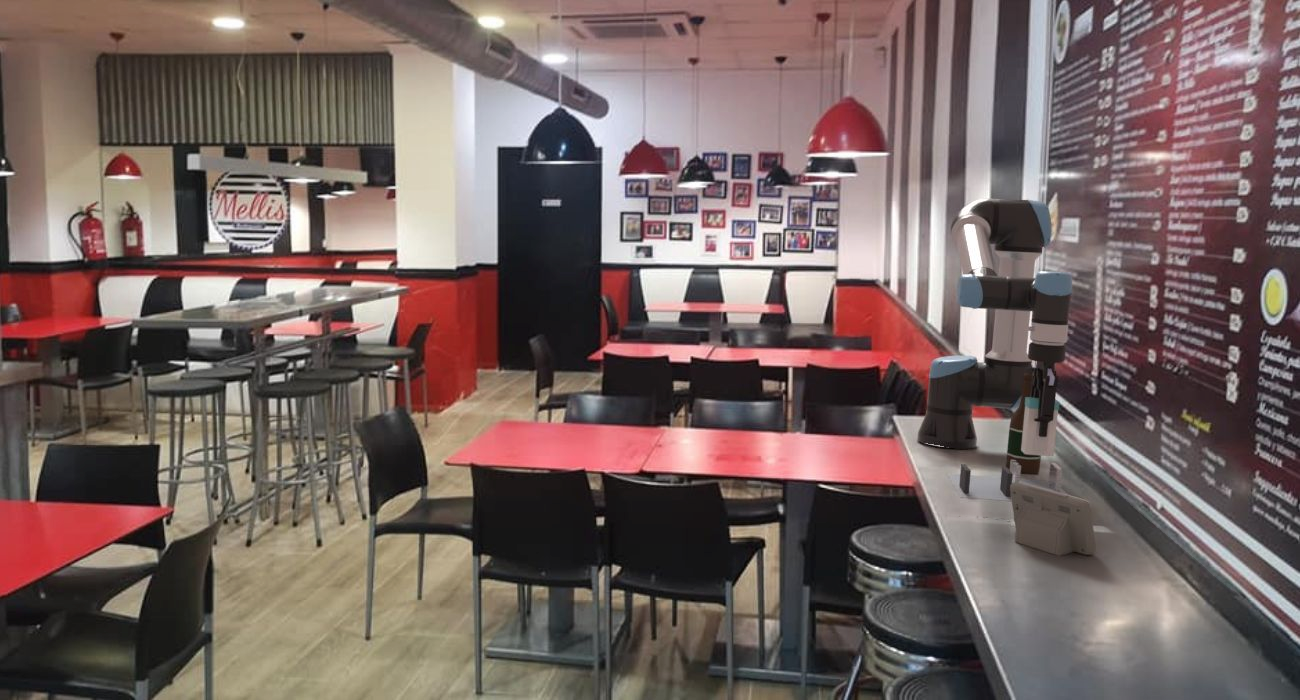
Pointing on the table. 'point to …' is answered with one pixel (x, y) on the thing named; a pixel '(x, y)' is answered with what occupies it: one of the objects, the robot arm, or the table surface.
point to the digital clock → (1052, 520)
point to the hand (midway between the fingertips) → (1037, 448)
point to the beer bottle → (1027, 462)
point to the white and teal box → (1030, 425)
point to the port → (1053, 475)
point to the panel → (990, 487)
